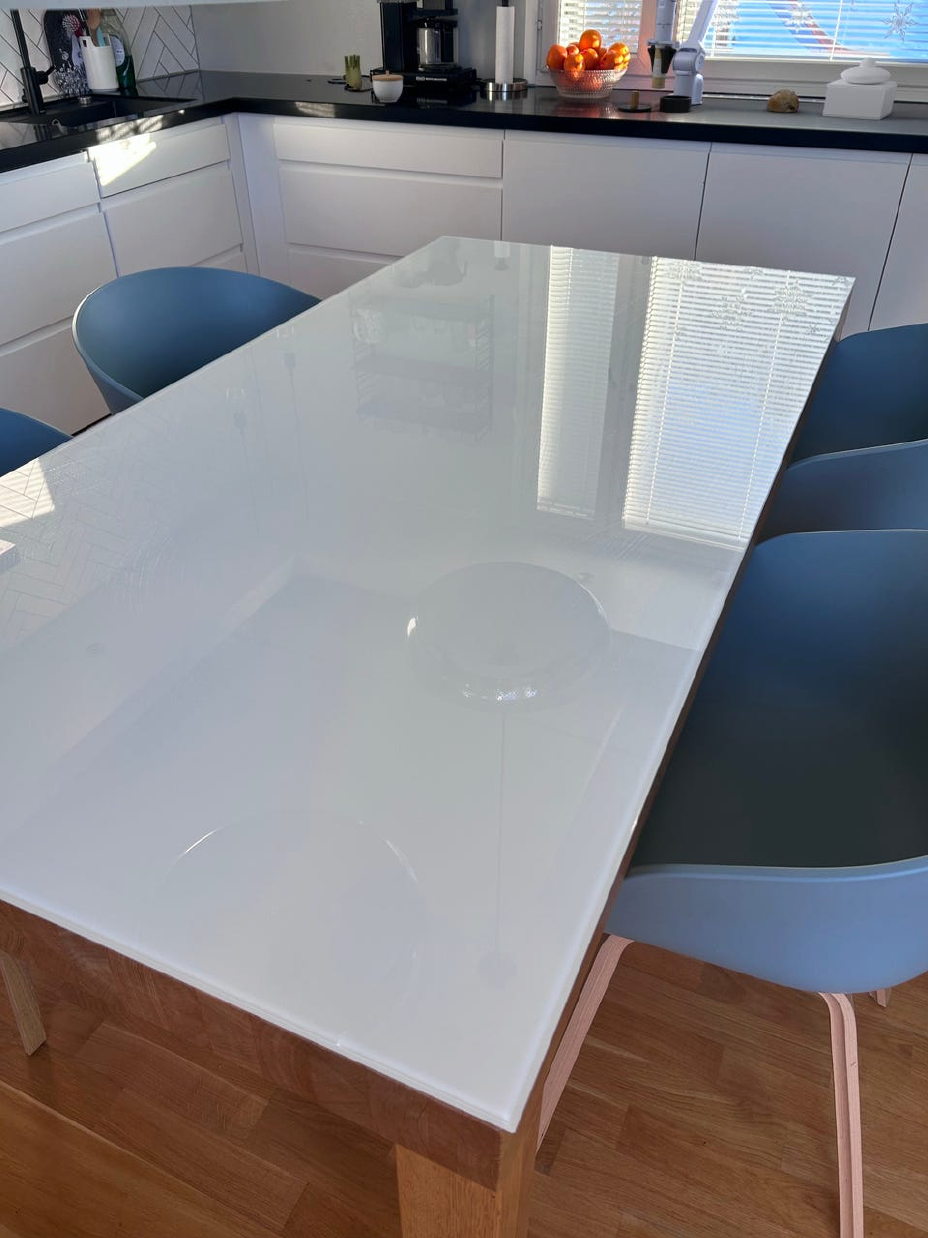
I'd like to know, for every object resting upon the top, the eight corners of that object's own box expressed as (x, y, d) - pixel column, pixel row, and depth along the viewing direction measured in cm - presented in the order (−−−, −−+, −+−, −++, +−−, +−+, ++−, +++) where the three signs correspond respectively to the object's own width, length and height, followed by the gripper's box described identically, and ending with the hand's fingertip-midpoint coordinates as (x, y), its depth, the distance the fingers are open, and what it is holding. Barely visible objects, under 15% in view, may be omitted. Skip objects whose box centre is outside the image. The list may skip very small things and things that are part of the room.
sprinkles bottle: (657, 86, 317) (662, 39, 309) (667, 87, 314) (673, 40, 306) (648, 87, 315) (652, 40, 307) (658, 88, 312) (663, 41, 304)
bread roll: (774, 125, 310) (786, 101, 303) (757, 106, 314) (768, 82, 307) (797, 122, 313) (809, 99, 307) (780, 104, 318) (791, 80, 311)
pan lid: (628, 107, 320) (630, 88, 317) (657, 109, 314) (659, 90, 311) (611, 110, 313) (612, 91, 310) (639, 113, 307) (641, 94, 304)
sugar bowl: (404, 98, 340) (403, 68, 335) (403, 102, 331) (402, 72, 326) (374, 99, 340) (372, 69, 335) (372, 103, 331) (371, 72, 326)
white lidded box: (879, 119, 294) (892, 60, 285) (820, 115, 302) (831, 57, 293) (891, 112, 306) (904, 55, 297) (834, 109, 314) (845, 53, 305)
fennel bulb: (345, 91, 360) (343, 54, 353) (349, 89, 364) (346, 53, 357) (360, 91, 359) (358, 54, 352) (363, 89, 363) (361, 53, 356)
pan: (668, 107, 319) (670, 94, 316) (696, 110, 313) (697, 96, 311) (653, 110, 312) (654, 97, 310) (680, 113, 307) (682, 99, 305)
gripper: (640, 23, 308) (636, 71, 315) (669, 25, 297) (664, 75, 305) (657, 22, 311) (652, 70, 318) (686, 24, 300) (681, 74, 308)
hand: (659, 72), depth 312 cm, fingers closed on sprinkles bottle, 4 cm apart
